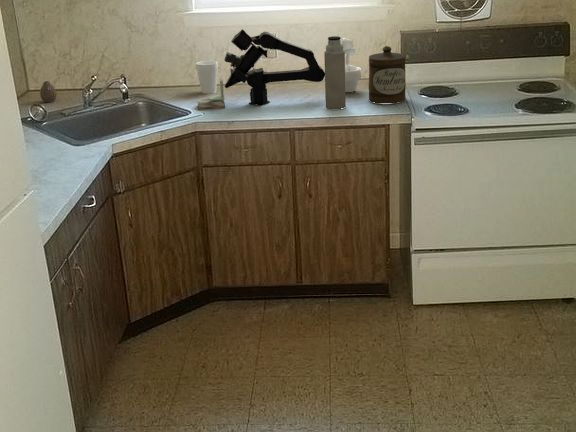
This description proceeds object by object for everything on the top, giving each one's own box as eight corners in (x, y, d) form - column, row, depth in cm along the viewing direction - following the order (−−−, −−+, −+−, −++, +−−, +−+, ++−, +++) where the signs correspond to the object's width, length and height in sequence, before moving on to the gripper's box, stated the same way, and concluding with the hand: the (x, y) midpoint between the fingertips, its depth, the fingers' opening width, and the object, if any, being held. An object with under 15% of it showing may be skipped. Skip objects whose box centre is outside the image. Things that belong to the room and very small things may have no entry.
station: (224, 103, 336) (223, 96, 335) (225, 108, 328) (224, 101, 327) (198, 105, 335) (197, 98, 334) (198, 110, 327) (197, 103, 326)
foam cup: (218, 94, 352) (216, 64, 347) (197, 94, 352) (194, 65, 347) (220, 89, 361) (218, 60, 356) (199, 89, 361) (197, 60, 356)
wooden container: (374, 106, 322) (374, 51, 313) (364, 97, 335) (364, 44, 327) (410, 103, 324) (411, 48, 316) (398, 94, 337) (399, 41, 329)
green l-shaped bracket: (224, 96, 334) (222, 78, 331) (224, 99, 328) (223, 81, 325) (209, 97, 333) (208, 79, 330) (209, 100, 328) (208, 82, 325)
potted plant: (332, 89, 351) (331, 31, 342) (359, 87, 352) (359, 29, 342) (336, 95, 340) (335, 36, 330) (363, 94, 340) (363, 34, 331)
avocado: (49, 99, 357) (46, 79, 353) (61, 100, 353) (58, 80, 350) (38, 102, 351) (34, 82, 348) (49, 104, 348) (46, 84, 345)
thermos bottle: (331, 104, 327) (329, 34, 317) (349, 106, 323) (348, 35, 313) (322, 108, 321) (320, 38, 310) (340, 110, 317) (338, 39, 307)
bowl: (212, 102, 334) (212, 97, 333) (212, 106, 329) (212, 101, 328) (197, 103, 334) (197, 98, 333) (198, 107, 328) (197, 102, 327)
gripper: (233, 41, 332) (209, 70, 335) (236, 49, 315) (210, 79, 318) (254, 58, 336) (230, 87, 339) (257, 67, 318) (232, 97, 322)
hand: (225, 87), depth 329 cm, fingers closed
